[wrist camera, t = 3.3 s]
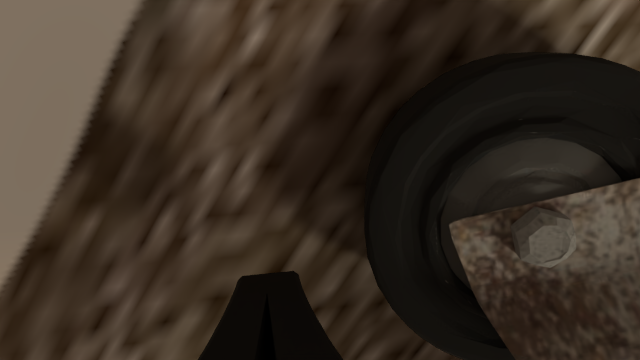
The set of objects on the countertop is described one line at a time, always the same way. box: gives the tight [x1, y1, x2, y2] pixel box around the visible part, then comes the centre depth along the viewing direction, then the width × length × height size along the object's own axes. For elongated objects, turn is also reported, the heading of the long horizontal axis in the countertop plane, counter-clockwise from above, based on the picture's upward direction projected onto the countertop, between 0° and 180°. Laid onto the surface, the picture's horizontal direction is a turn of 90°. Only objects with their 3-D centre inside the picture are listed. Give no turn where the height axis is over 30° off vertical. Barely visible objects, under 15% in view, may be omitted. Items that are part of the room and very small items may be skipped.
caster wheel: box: [364, 52, 640, 360], centre depth 12 cm, size 7×11×10 cm
